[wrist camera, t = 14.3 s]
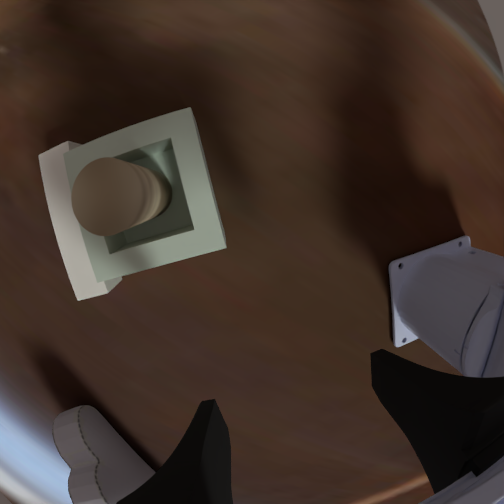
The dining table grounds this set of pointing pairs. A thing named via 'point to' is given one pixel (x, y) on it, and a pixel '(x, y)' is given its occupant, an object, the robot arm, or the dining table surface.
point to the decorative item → (97, 458)
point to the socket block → (182, 204)
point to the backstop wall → (69, 225)
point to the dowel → (118, 196)
